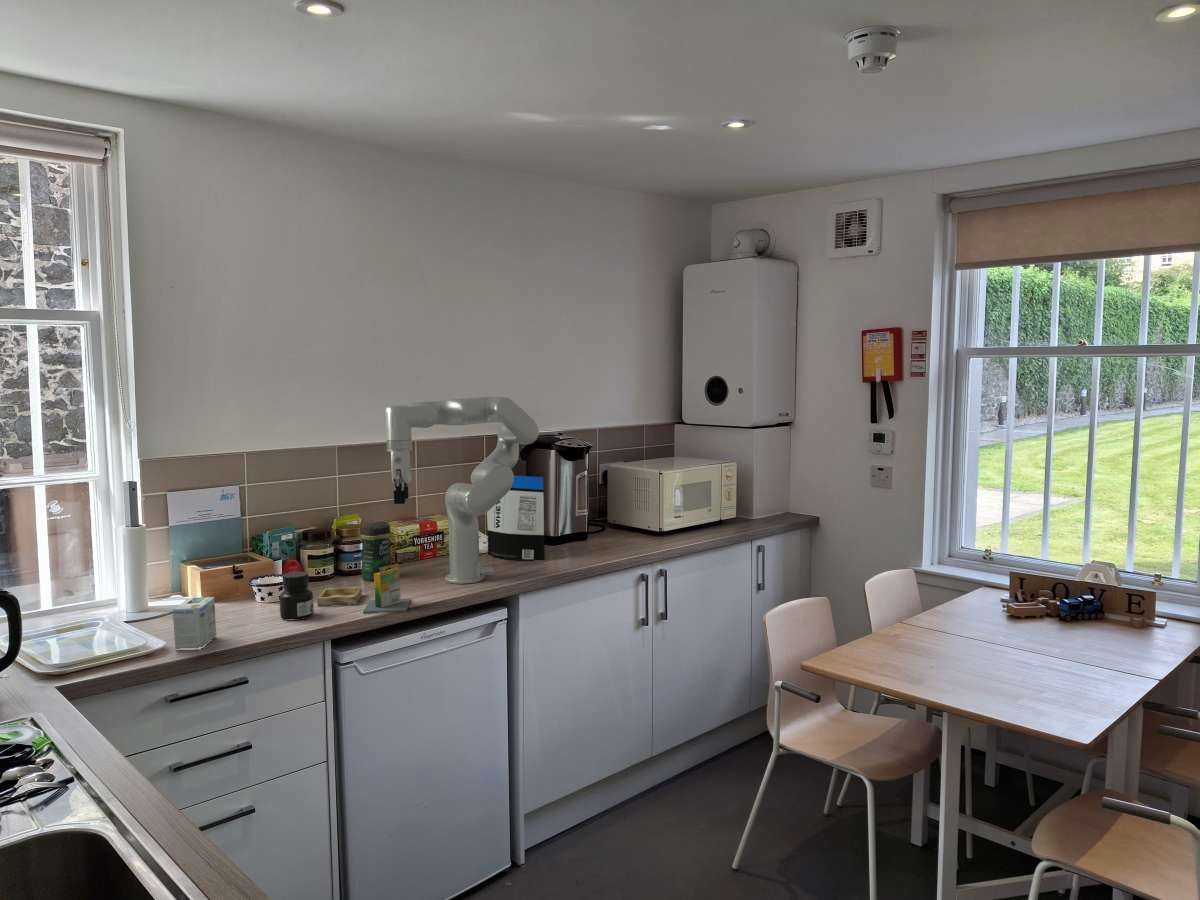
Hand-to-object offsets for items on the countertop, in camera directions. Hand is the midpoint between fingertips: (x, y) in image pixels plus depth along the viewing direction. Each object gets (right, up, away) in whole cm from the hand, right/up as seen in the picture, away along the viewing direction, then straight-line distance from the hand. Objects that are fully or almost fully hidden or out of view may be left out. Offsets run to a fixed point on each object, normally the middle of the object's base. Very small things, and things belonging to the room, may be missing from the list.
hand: (401, 501), depth 264 cm
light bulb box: (-41, -34, -46) cm, 70 cm away
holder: (-17, -29, -7) cm, 34 cm away
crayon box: (-1, -29, -14) cm, 33 cm away
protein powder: (+30, -24, +48) cm, 62 cm away
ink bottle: (-24, -31, -23) cm, 45 cm away
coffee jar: (-13, -27, +20) cm, 36 cm away
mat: (-1, -30, -14) cm, 33 cm away
